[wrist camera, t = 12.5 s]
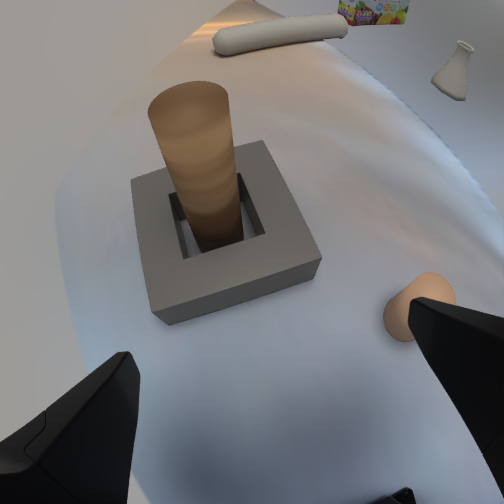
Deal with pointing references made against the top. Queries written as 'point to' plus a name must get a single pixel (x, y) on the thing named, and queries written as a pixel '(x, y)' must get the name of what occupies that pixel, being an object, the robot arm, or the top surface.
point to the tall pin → (200, 159)
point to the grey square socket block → (228, 257)
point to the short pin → (420, 287)
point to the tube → (278, 33)
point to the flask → (454, 73)
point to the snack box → (373, 11)
